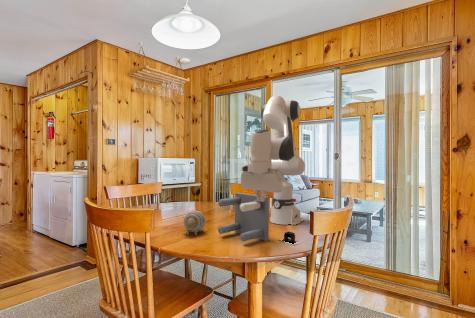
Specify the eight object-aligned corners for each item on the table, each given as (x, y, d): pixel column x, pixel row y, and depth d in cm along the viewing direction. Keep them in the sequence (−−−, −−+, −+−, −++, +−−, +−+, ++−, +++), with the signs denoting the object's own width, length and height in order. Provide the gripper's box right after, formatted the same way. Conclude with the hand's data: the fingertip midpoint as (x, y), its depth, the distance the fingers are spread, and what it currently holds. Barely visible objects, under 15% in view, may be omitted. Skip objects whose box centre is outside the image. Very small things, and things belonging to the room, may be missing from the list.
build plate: (274, 240, 127) (274, 231, 127) (283, 237, 132) (283, 228, 132) (296, 247, 118) (296, 237, 118) (305, 244, 123) (305, 234, 123)
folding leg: (256, 208, 127) (256, 199, 127) (262, 210, 124) (262, 200, 124) (239, 211, 120) (239, 202, 119) (245, 213, 117) (245, 203, 117)
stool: (238, 230, 141) (238, 192, 141) (268, 239, 127) (269, 197, 127) (216, 236, 131) (217, 195, 131) (247, 246, 117) (247, 200, 116)
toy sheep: (179, 237, 129) (179, 213, 129) (189, 227, 145) (189, 207, 145) (201, 238, 128) (201, 214, 128) (208, 228, 145) (208, 207, 144)
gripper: (286, 168, 108) (285, 203, 108) (248, 166, 122) (248, 197, 123) (276, 169, 103) (276, 205, 104) (238, 167, 118) (238, 198, 118)
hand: (260, 201), depth 113 cm, fingers closed
